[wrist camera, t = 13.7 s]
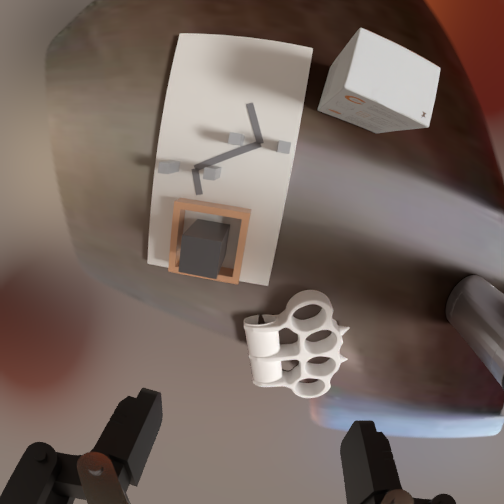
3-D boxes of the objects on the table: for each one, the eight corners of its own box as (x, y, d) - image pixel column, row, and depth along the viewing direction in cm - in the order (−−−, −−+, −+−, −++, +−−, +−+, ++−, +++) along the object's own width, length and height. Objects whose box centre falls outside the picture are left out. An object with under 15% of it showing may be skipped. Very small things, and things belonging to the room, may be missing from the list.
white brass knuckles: (241, 294, 40) (348, 283, 39) (256, 388, 46) (343, 379, 44) (239, 306, 37) (355, 295, 35) (255, 402, 42) (347, 393, 41)
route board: (311, 50, 29) (318, 36, 24) (267, 282, 39) (267, 301, 34) (181, 36, 28) (170, 21, 24) (150, 260, 38) (135, 275, 34)
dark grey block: (230, 224, 35) (221, 242, 29) (225, 255, 37) (216, 279, 30) (197, 218, 35) (181, 234, 29) (193, 249, 37) (178, 271, 30)
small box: (389, 90, 30) (443, 68, 17) (377, 134, 32) (430, 130, 19) (328, 65, 29) (359, 25, 17) (315, 110, 31) (342, 88, 19)
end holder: (251, 209, 35) (250, 213, 32) (240, 276, 37) (238, 284, 35) (180, 197, 34) (174, 201, 32) (174, 263, 37) (168, 271, 35)
